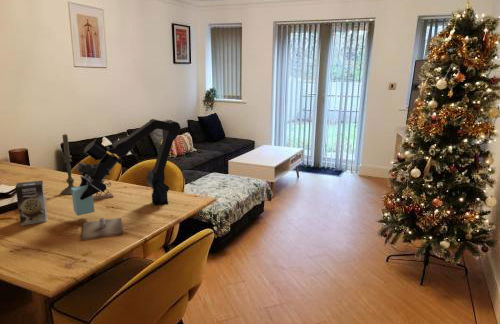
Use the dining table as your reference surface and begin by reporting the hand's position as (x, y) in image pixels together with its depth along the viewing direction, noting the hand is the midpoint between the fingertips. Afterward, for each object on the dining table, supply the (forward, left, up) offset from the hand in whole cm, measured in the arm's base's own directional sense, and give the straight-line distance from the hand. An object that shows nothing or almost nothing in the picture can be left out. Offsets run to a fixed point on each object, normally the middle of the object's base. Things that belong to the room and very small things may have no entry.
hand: (78, 197), depth 142 cm
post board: (-8, +13, -10) cm, 18 cm away
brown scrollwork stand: (-8, -25, -10) cm, 29 cm away
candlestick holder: (+7, -39, -10) cm, 41 cm away
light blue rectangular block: (-1, 0, -7) cm, 7 cm away
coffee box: (+18, -5, -10) cm, 21 cm away
